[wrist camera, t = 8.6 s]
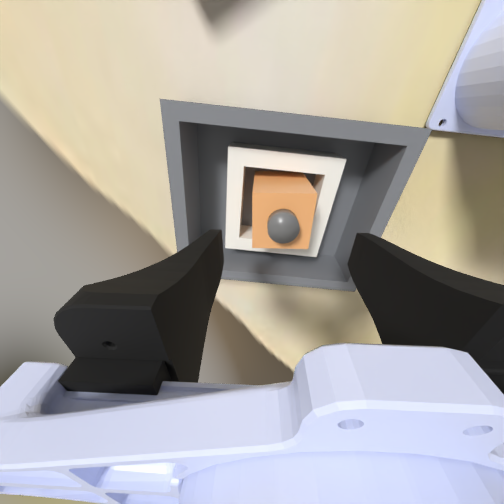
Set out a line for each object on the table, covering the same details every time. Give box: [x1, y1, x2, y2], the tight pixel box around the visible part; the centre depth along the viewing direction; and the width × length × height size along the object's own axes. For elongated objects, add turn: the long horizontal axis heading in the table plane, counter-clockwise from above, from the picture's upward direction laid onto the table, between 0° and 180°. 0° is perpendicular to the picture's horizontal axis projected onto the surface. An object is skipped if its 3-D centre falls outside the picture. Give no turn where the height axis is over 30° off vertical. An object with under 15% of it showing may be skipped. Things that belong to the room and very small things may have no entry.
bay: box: [160, 99, 432, 292], centre depth 18 cm, size 16×13×5 cm
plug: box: [252, 171, 317, 249], centre depth 16 cm, size 4×4×7 cm
